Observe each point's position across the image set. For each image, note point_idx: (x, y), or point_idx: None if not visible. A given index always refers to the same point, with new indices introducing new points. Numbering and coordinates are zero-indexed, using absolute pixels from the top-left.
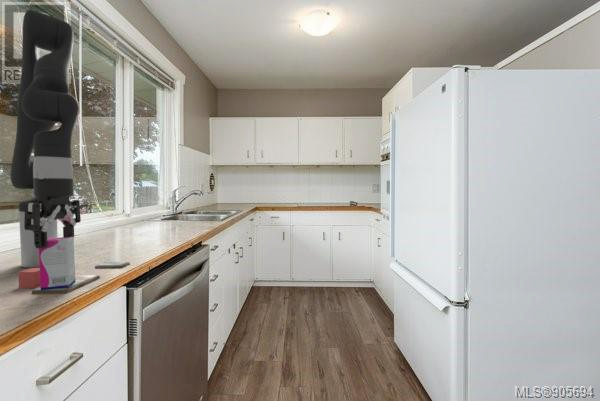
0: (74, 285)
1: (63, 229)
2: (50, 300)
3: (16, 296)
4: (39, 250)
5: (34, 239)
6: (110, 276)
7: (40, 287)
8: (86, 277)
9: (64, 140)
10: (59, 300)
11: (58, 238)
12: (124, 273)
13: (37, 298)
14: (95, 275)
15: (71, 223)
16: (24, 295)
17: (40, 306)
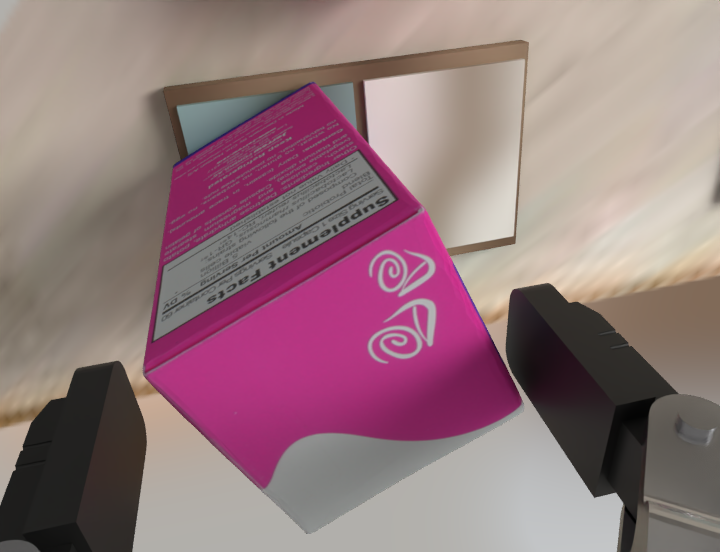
0: None
1: (590, 378)
2: (98, 309)
3: (86, 32)
4: (154, 313)
5: (14, 475)
6: (536, 271)
7: (174, 167)
8: (463, 212)
9: None
10: (113, 349)
11: (379, 396)
12: (590, 299)
13: (101, 213)
14: (507, 230)
15: (618, 545)
16: (120, 72)
17: (9, 340)
